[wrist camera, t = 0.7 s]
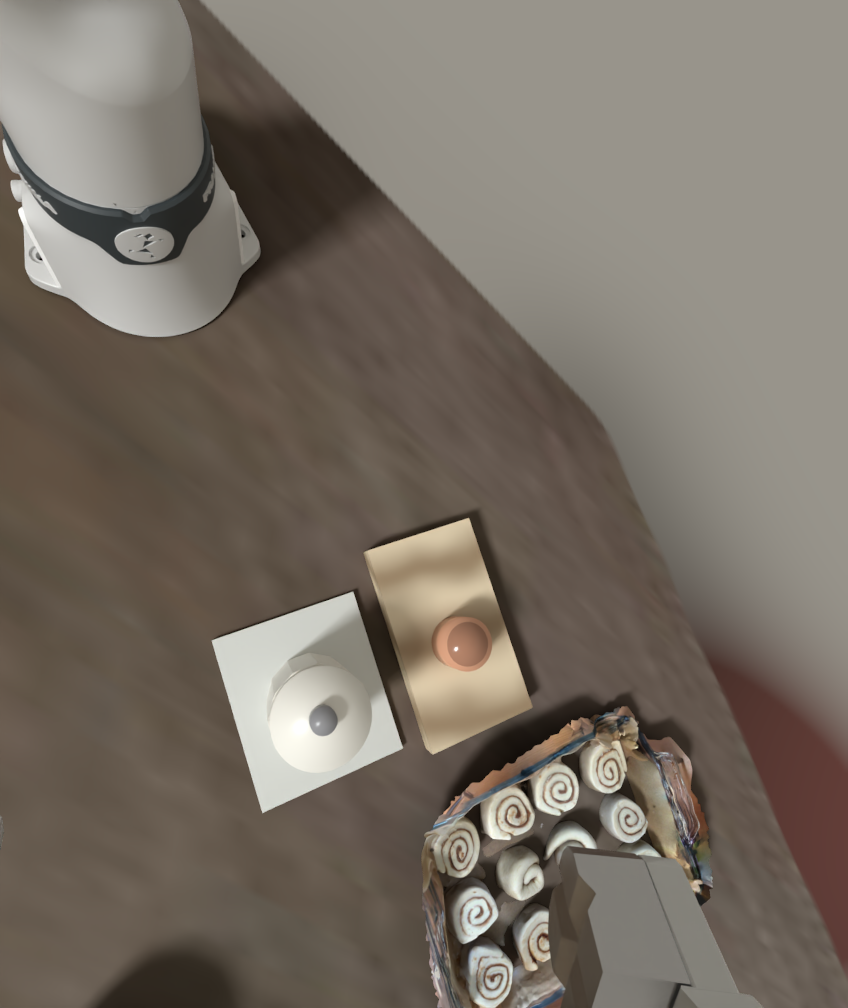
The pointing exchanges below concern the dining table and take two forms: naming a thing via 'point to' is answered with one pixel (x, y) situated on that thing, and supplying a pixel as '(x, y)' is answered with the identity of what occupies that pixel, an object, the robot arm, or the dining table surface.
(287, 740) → the lidded storage canister
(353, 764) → the rubber mat
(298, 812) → the dining table surface
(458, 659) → the terracotta bowl
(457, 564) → the maple board
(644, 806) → the baking tray
